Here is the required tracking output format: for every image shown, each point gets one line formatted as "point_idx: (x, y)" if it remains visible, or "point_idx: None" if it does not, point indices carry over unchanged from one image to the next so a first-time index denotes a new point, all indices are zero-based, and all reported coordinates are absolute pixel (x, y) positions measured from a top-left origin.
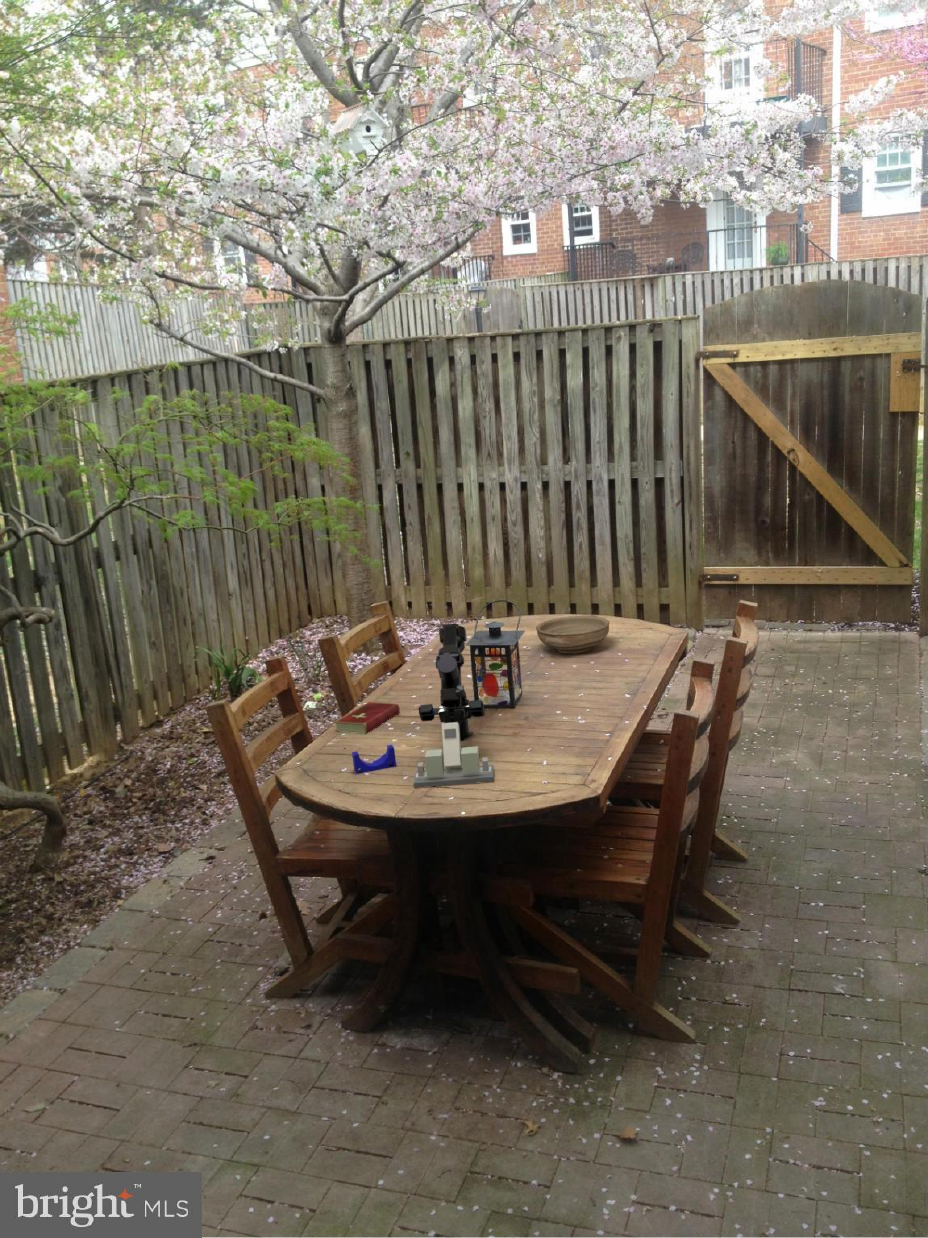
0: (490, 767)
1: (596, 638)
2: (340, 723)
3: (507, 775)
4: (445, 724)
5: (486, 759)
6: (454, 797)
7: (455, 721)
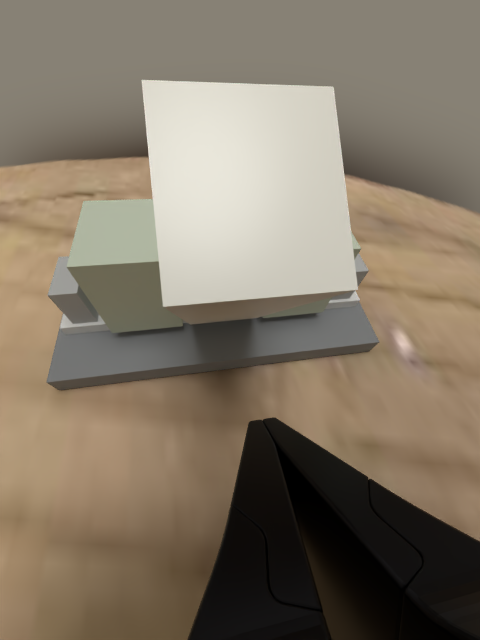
0: (65, 319)
1: None
2: None
3: (16, 331)
4: (287, 100)
5: (60, 271)
6: None
7: (258, 555)
